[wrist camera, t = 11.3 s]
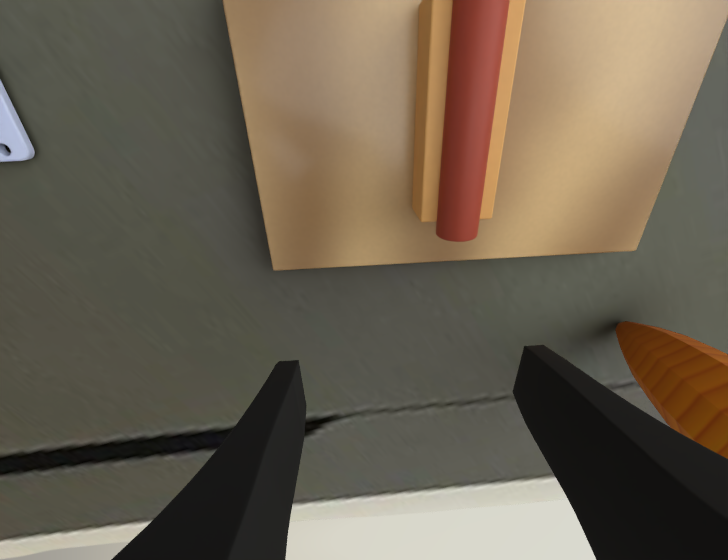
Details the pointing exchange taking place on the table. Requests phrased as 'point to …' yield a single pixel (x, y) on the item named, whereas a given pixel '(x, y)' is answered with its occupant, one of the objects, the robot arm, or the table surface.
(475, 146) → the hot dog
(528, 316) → the table surface
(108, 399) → the table surface
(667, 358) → the carrot
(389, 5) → the oak board
